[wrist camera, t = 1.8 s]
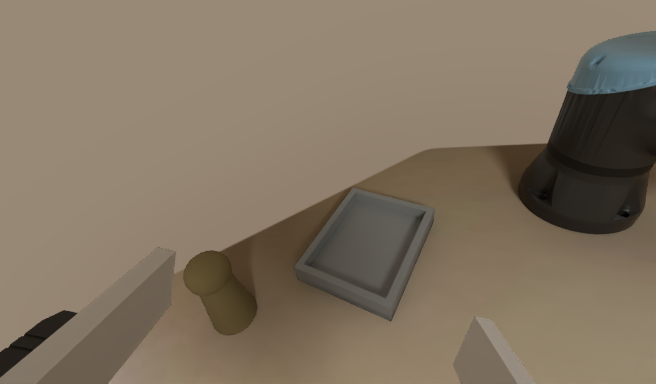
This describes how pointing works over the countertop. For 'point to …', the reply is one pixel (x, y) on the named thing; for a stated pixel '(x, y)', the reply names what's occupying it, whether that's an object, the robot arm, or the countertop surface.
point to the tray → (367, 251)
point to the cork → (220, 292)
